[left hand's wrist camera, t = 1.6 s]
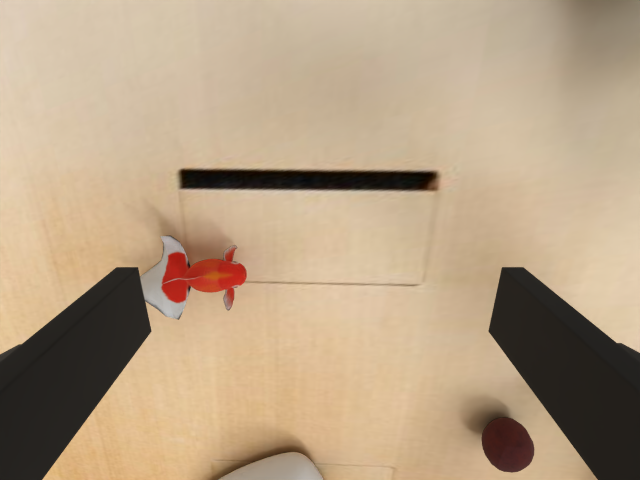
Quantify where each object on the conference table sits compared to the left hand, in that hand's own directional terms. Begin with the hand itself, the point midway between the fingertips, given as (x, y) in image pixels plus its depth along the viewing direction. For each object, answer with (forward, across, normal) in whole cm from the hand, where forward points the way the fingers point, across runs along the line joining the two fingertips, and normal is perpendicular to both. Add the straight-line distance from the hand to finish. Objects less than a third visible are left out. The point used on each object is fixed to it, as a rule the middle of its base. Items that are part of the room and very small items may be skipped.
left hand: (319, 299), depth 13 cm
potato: (+32, +29, -43) cm, 61 cm away
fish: (+32, -16, -14) cm, 38 cm away
